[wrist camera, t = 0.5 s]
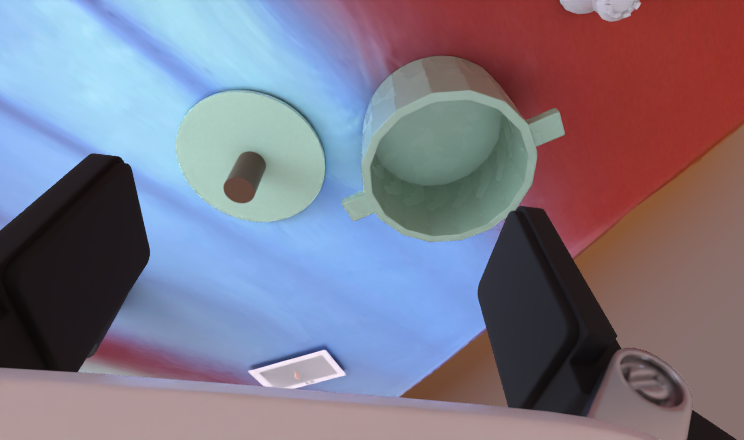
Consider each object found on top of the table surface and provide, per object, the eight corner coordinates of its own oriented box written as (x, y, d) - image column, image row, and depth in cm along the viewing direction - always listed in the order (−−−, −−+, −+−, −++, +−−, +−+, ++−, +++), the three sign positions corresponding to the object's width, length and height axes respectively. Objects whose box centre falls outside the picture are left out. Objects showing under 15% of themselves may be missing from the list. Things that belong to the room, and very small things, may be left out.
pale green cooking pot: (316, 109, 45) (304, 154, 37) (508, 12, 39) (544, 39, 31) (380, 214, 53) (382, 269, 45) (546, 146, 47) (582, 195, 39)
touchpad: (249, 365, 72) (246, 376, 71) (325, 344, 69) (324, 355, 67) (273, 388, 77) (271, 399, 75) (346, 369, 73) (345, 380, 71)
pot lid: (147, 129, 46) (117, 159, 40) (271, 59, 41) (256, 82, 36) (240, 233, 55) (226, 270, 49) (351, 185, 50) (349, 219, 45)
